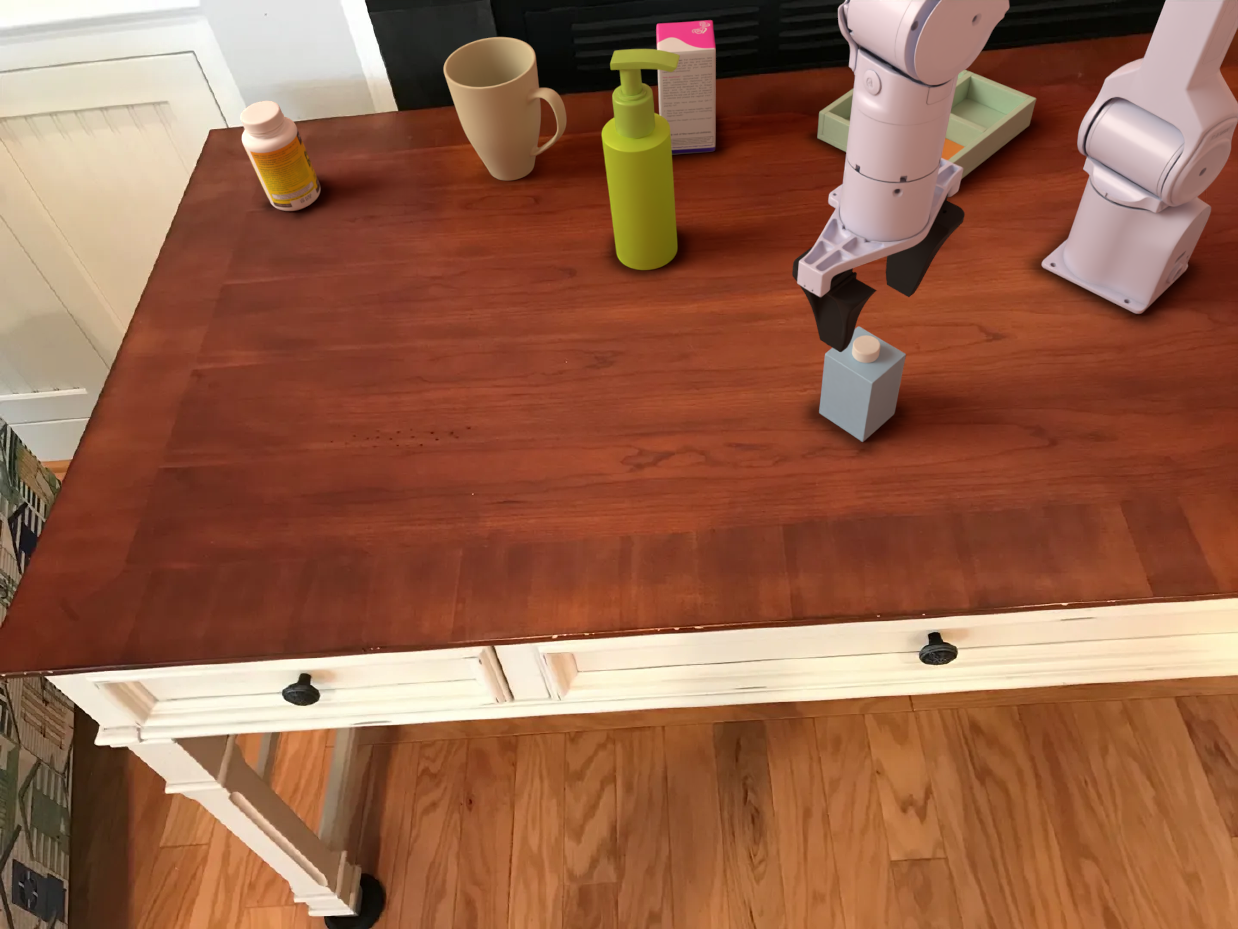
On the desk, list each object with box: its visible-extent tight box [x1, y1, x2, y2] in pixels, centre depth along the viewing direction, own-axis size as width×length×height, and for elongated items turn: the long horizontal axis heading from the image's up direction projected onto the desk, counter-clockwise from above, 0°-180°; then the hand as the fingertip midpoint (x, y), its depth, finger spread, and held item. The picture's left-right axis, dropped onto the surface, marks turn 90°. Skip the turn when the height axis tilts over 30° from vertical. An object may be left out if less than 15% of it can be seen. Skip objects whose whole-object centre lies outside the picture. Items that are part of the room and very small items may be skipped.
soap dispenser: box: [601, 48, 680, 271], centre depth 86 cm, size 6×7×20 cm
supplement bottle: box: [240, 100, 322, 212], centre depth 101 cm, size 6×6×10 cm
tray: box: [816, 69, 1037, 180], centre depth 100 cm, size 15×15×3 cm
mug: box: [443, 36, 567, 182], centre depth 99 cm, size 11×10×12 cm
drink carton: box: [818, 325, 907, 443], centre depth 76 cm, size 4×4×8 cm
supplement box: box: [655, 19, 717, 156], centre depth 100 cm, size 6×6×12 cm
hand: (867, 315), depth 71 cm, fingers open, 7 cm apart
